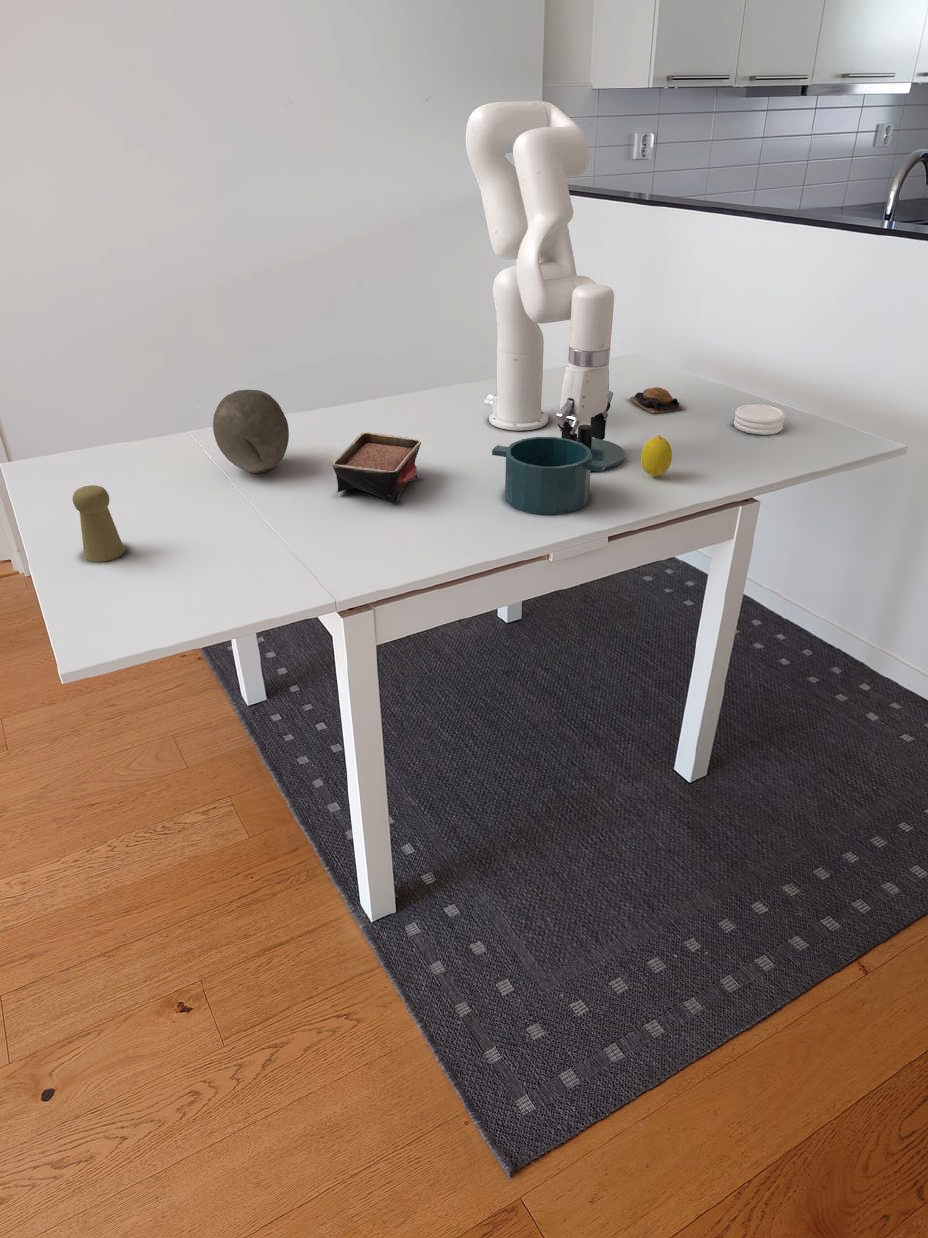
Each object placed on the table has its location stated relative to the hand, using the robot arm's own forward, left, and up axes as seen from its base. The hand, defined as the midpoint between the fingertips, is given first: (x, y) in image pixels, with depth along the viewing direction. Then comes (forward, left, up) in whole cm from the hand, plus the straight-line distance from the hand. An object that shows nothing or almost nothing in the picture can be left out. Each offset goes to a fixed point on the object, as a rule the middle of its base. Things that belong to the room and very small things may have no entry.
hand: (582, 444), depth 172 cm
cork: (-35, -82, -2) cm, 89 cm away
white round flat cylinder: (+19, +37, -2) cm, 42 cm away
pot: (+6, -20, -2) cm, 21 cm away
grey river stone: (-44, -45, -2) cm, 63 cm away
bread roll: (-5, +36, -2) cm, 36 cm away
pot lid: (0, 0, -2) cm, 2 cm away
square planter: (-20, -36, -2) cm, 41 cm away
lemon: (+16, 0, -2) cm, 16 cm away
